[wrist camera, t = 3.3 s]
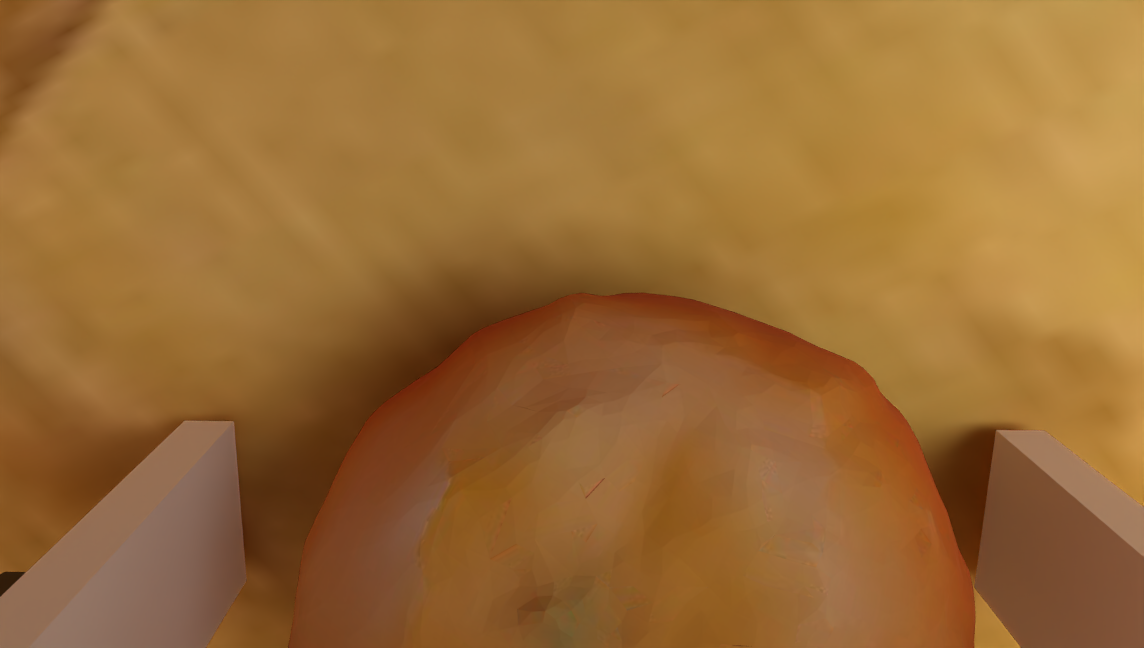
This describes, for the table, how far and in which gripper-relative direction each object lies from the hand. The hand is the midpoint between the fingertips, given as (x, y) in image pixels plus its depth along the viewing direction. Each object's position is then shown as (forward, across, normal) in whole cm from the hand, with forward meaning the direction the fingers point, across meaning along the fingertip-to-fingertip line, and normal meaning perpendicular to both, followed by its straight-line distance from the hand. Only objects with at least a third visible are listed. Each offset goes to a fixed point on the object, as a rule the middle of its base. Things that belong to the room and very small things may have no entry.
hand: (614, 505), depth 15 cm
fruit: (+1, 0, 0) cm, 1 cm away
